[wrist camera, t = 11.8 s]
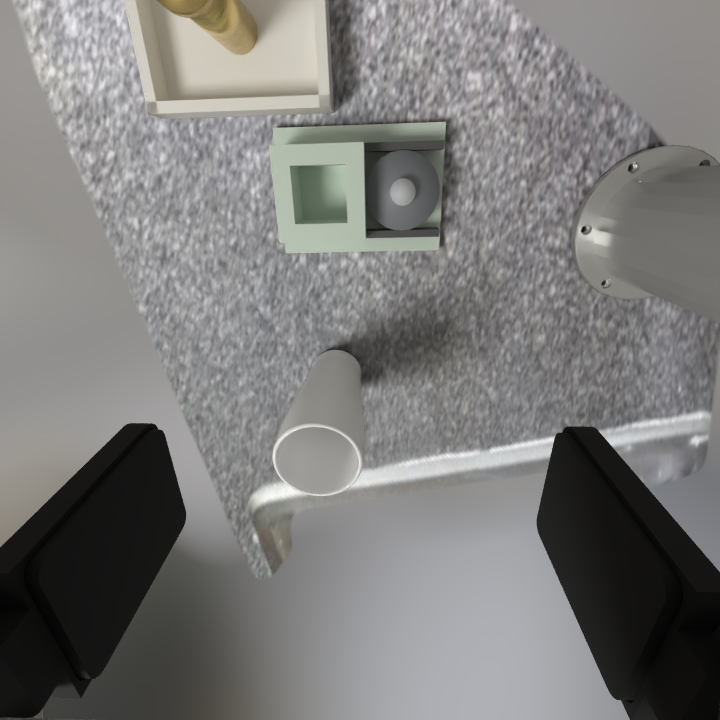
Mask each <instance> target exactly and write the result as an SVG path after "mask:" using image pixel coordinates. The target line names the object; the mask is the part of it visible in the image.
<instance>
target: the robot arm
mask: <svg viewBox="0 0 720 720" xmlns="http://www.w3.org/2000/svg"><path fill="white" fill-rule="evenodd" d="M629 165H630V169H629V170H628V167H629ZM583 226H584V230H583V231H582V232H581V229H582V227H583ZM571 249H572V255H573V260H574V262H575V265H576V268H577V270H578V272H579V273H580V274H581V276H582V277H583V279H584V280H585V281H586V282H587V283H588V284H590V285H591V286H592V287H593V288H595V289H597V290H598V291H600V292H602V293H604V294H607V295H609V296H612V297H615V298H621V299H643V298H648V297H653V296H657V297H660V298H662V299H664V300H666V301H669V302H671V303H673V304H676V305H678V306H680V307H683V308H685V309H687V310H690V311H692V312H694V313H697V314H699V315H701V316H704V317H706V318H708V319H711V320H713V321H715V322H718V323H720V164H719V163H718V162H717V160H716V159H715V158H713V157H712V156H710V155H709V154H707V153H706V152H704V151H702V150H699V149H696V148H693V147H689V146H676V145H671V146H661V147H656V148H651V149H647V150H643V151H641V152H638V153H636V154H634V155H631V156H629V157H627V158H626V159H624V160H622V161H621V162H619V163H618V164H616V165H614V166H613V167H612V168H611V169H610V170H609V171H607V172H606V173H605V174H604V175H603V176H602V177H601V178H600V179H599V180H598V181H597V182H596V183H595V185H594V186H593V187H592V188H591V189H590V191H589V192H588V194H587V195H586V197H585V199H584V200H583V202H582V203H581V206H580V208H579V210H578V213H577V215H576V217H575V221H574V225H573V229H572V238H571ZM603 281H604V282H603ZM602 282H603V283H602ZM185 520H186V510H185V507H184V503H183V499H182V496H181V492H180V488H179V485H178V481H177V478H176V474H175V471H174V467H173V463H172V459H171V456H170V452H169V448H168V445H167V441H166V437H165V434H164V433H163V431H162V430H158V428H157V426H156V425H155V424H147V423H145V424H144V423H141V424H140V423H139V424H138V423H131V424H127V425H125V426H124V427H123V428H122V429H121V430H120V431H119V432H118V433H117V434H116V435H115V436H114V437H113V438H112V439H111V440H110V441H109V442H108V443H107V444H106V445H105V446H103V447H102V449H100V451H98V452H97V453H96V454H95V455H94V456H93V457H92V458H91V459H90V460H89V461H88V462H87V463H86V464H85V465H84V466H83V467H82V468H81V469H80V470H79V471H78V472H77V473H76V474H75V475H74V476H73V477H72V478H71V479H70V480H69V481H68V482H67V483H66V484H65V485H64V486H63V487H62V488H61V489H60V490H59V491H58V492H57V493H56V494H54V495H53V496H52V497H51V498H50V499H49V500H48V501H47V502H46V503H45V504H44V505H43V506H42V507H41V508H40V509H39V510H38V511H37V512H36V513H35V514H34V515H33V516H32V517H31V518H30V519H29V520H28V521H27V522H26V523H25V524H24V525H23V526H22V527H21V528H20V529H19V530H18V531H17V532H16V533H15V534H14V535H13V536H12V537H11V538H9V539H8V540H7V542H5V544H3V545H2V546H1V547H0V720H89V719H65V718H62V719H61V718H42V708H43V707H44V705H45V704H46V702H47V701H48V699H49V697H50V696H51V694H52V695H53V697H61V698H81V697H82V696H83V694H84V692H85V690H86V688H87V687H88V685H89V683H90V682H91V680H92V679H95V678H96V677H98V676H99V675H100V674H101V673H102V671H103V670H104V668H105V667H106V665H107V663H108V661H109V660H110V658H111V656H112V654H113V652H114V650H115V649H116V647H117V645H118V643H119V641H120V640H121V638H122V636H123V634H124V633H125V631H126V629H127V627H128V626H129V624H130V622H131V620H132V618H133V617H134V614H135V613H136V611H137V609H138V607H139V606H140V604H141V602H142V600H143V599H144V597H145V595H146V593H147V591H148V590H149V588H150V586H151V584H152V583H153V581H154V579H155V577H156V575H157V574H158V572H159V570H160V568H161V566H162V565H163V562H164V561H165V559H166V558H167V556H168V554H169V552H170V550H171V549H172V547H173V545H174V543H175V541H176V540H177V538H178V536H179V534H180V532H181V530H182V528H183V527H184V524H185ZM537 529H538V533H539V536H540V538H541V540H542V542H543V545H544V547H545V549H546V551H547V554H548V556H549V558H550V560H551V563H552V565H553V567H554V569H555V572H556V574H557V576H558V578H559V581H560V583H561V585H562V587H563V590H564V592H565V594H566V596H567V599H568V601H569V603H570V605H571V608H572V610H573V612H574V614H575V616H576V619H577V621H578V623H579V625H580V628H581V630H582V632H583V634H584V637H585V639H586V641H587V643H588V645H589V648H590V650H591V652H592V654H593V657H594V659H595V661H596V664H597V666H598V668H599V670H600V673H601V675H602V677H603V679H604V681H605V684H606V686H607V688H608V690H609V692H610V694H611V695H612V696H613V697H614V698H615V699H616V700H621V701H622V703H623V705H624V708H625V710H626V712H627V714H628V716H629V718H630V720H720V572H719V571H718V570H717V568H716V567H715V566H714V565H713V564H712V563H711V562H710V560H709V559H708V558H707V557H706V556H705V555H704V553H703V552H702V551H701V550H700V549H699V548H698V546H697V545H696V544H695V543H694V542H693V541H692V539H691V538H690V537H689V536H688V535H687V534H686V532H685V531H684V530H683V529H682V528H681V527H680V525H679V524H678V523H677V522H676V521H675V520H674V519H673V517H672V516H671V515H670V514H669V513H668V511H667V510H666V509H665V508H664V507H663V506H662V505H661V503H660V502H659V501H658V500H657V499H656V497H655V496H654V495H653V494H652V493H651V492H650V491H649V489H648V488H647V487H646V486H645V485H644V484H643V482H642V481H641V480H640V479H639V478H638V477H637V475H636V474H635V473H634V472H633V471H632V470H631V468H630V467H629V466H628V465H627V464H626V463H625V461H624V460H623V459H622V458H621V457H620V456H619V454H618V453H617V452H616V451H615V450H614V449H613V447H612V446H611V445H610V444H609V443H608V442H607V440H606V439H605V438H604V437H603V436H602V435H601V434H600V432H599V431H598V430H597V429H596V428H594V427H566V428H565V429H564V430H563V432H562V433H557V434H556V436H555V439H554V444H553V448H552V453H551V457H550V462H549V466H548V470H547V475H546V479H545V484H544V489H543V493H542V497H541V502H540V507H539V511H538V515H537ZM90 720H91V719H90Z"/></svg>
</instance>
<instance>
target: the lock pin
mask: <svg viewBox="0 0 720 720" xmlns="http://www.w3.org/2000/svg"><path fill="white" fill-rule="evenodd" d="M157 1H158V2H159V3H160V4H161V5H162V6H164V7H165V8H166V9H167V10H169V11H170V12H172V13H173V14H175V15H177V16H180V17H184V18H190V19H191V20H193V21H194V22H195V23H196V24H197V25H198V26H200V27H201V28H202V29H203V30H204V31H206V32H207V33H208V34H209V35H210V36H212V37H213V38H214V39H215V40H216V41H218V42H219V43H220V44H221V45H222V46H224V47H225V48H226V49H227V50H228V51H230V52H231V53H233V54H236V55H244V54H247V53H249V52H250V51H251V50H252V49H253V48H254V46H255V44H256V41H257V35H258V32H257V25H256V22H255V20H254V18H253V16H252V14H251V13H250V12H249V11H248V9H247V8H246V7H245V5H244V4H243V3H242V2H241V0H157Z"/></svg>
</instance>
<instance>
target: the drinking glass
mask: <svg viewBox="0 0 720 720" xmlns="http://www.w3.org/2000/svg"><path fill="white" fill-rule="evenodd" d="M361 376H362V373H361V368H360V365H359V363H358V361H357V360H356V359H355V358H354V357H353V356H352V355H351V354H349V353H347V352H345V351H342V350H329V351H326V352H324V353H322V354H320V355H319V356H318V357H317V358H316V359H315V361H314V362H313V364H312V367H311V369H310V372H309V374H308V375H307V377H306V379H305V381H304V383H303V384H302V386H301V388H300V390H299V391H298V393H297V395H296V397H295V398H294V400H293V402H292V404H291V405H290V407H289V409H288V411H287V413H286V415H285V417H284V420H283V422H282V425H281V427H280V430H279V433H278V436H277V439H276V443H275V446H274V449H273V464H274V467H275V469H276V472H277V473H278V475H279V476H280V478H281V479H282V480H283V481H284V482H285V483H286V484H287V485H289V486H290V487H292V488H293V489H295V490H297V491H299V492H302V493H305V494H308V495H314V496H328V495H333V494H337V493H340V492H342V491H344V490H346V489H348V488H349V487H350V486H351V485H353V484H354V483H355V482H356V480H357V479H358V477H359V476H360V473H361V471H362V467H363V459H364V451H365V418H364V408H363V398H362V386H361Z"/></svg>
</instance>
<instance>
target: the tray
mask: <svg viewBox="0 0 720 720" xmlns="http://www.w3.org/2000/svg"><path fill="white" fill-rule="evenodd" d="M241 2H242V3H243V4H244V5H245V7H246V8H247V9H248V11H249V12H250V13H251V14H252V16H253V18H254V20H255V22H256V25H257V32H258V35H257V41H256V44H255V46H254V48H253V49H252V50H251V51H250V52H249V53H247V54H244V55H236V54H233V53H231V52H230V51H228V50H227V49H226V48H225V47H224V46H222V45H221V44H220V43H219V42H218V41H216V40H215V39H214V38H213V37H212V36H210V35H209V34H208V33H207V32H206V31H204V30H203V29H202V28H201V27H200V26H198V25H197V24H196V23H195V22H194V21H193V20H191V19H190V18H184V17H180V16H177V15H175V14H173V13H172V12H170V11H169V10H167V9H166V8H165V7H164V6H162V5H161V4H160V3H159V2H158V1H157V0H124V3H125V7H126V12H127V17H128V21H129V26H130V30H131V35H132V40H133V44H134V49H135V54H136V58H137V63H138V68H139V72H140V77H141V82H142V86H143V91H144V96H145V100H146V105H147V110H148V114H150V115H154V116H157V117H161V118H165V119H186V118H212V117H239V116H265V115H292V114H318V113H334V97H333V75H332V54H331V32H330V11H329V0H241Z"/></svg>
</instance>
